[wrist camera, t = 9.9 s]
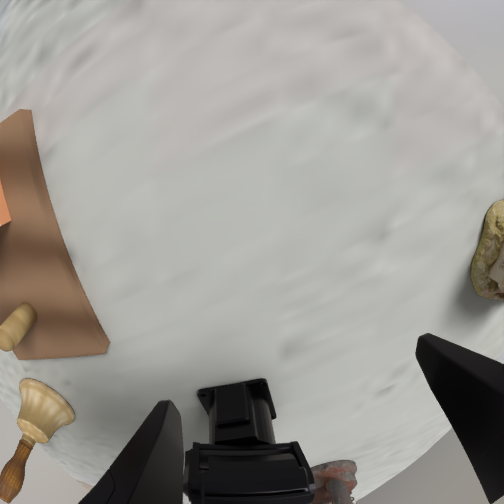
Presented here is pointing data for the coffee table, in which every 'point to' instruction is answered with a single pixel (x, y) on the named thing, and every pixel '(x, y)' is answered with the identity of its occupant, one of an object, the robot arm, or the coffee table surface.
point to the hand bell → (33, 430)
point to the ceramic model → (490, 256)
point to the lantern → (334, 482)
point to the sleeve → (3, 209)
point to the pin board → (38, 261)
